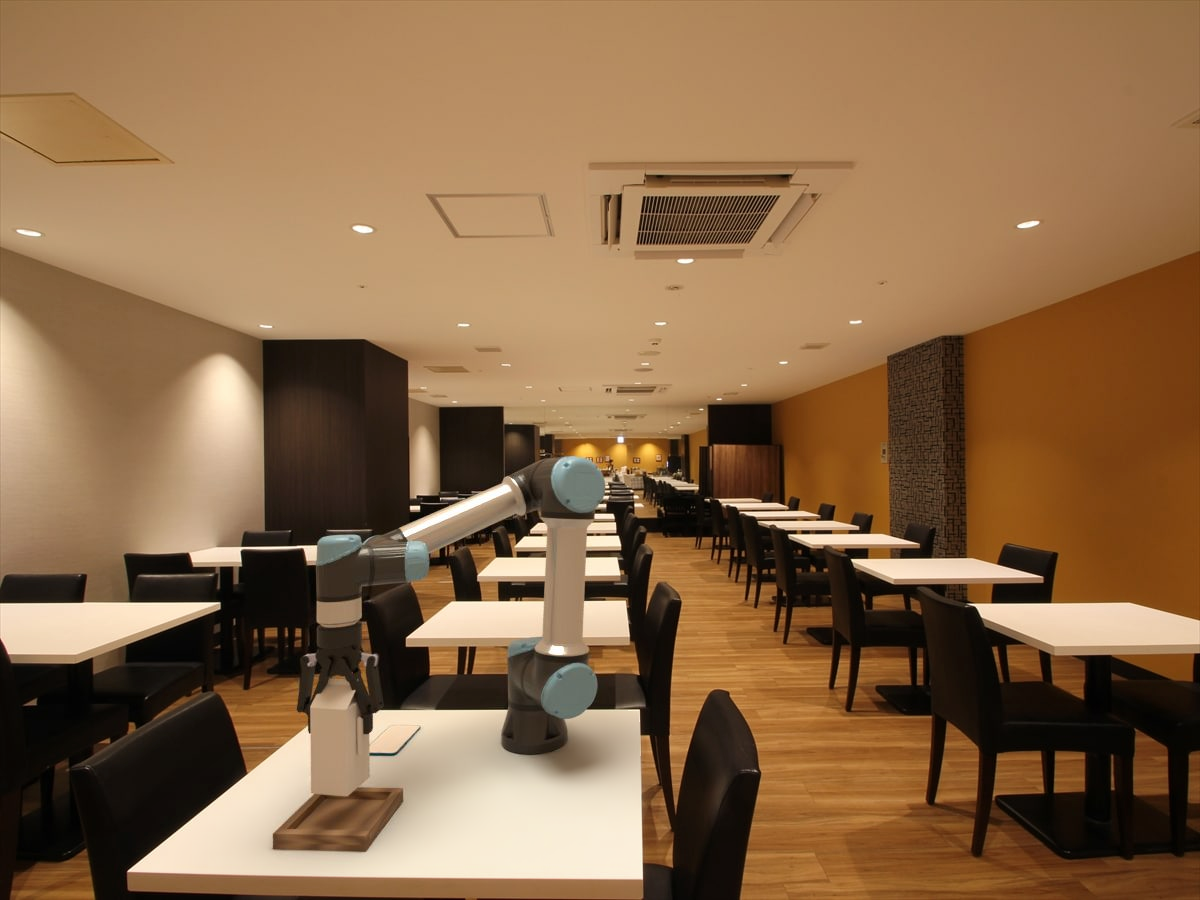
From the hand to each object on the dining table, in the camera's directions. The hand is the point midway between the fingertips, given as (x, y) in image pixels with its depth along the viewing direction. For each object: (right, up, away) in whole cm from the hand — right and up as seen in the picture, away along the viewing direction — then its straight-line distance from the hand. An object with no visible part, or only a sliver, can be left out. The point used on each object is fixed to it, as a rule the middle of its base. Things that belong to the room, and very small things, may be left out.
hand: (340, 751), depth 116 cm
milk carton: (0, -6, 0) cm, 6 cm away
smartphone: (-2, -14, +35) cm, 38 cm away
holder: (0, -13, 0) cm, 13 cm away
